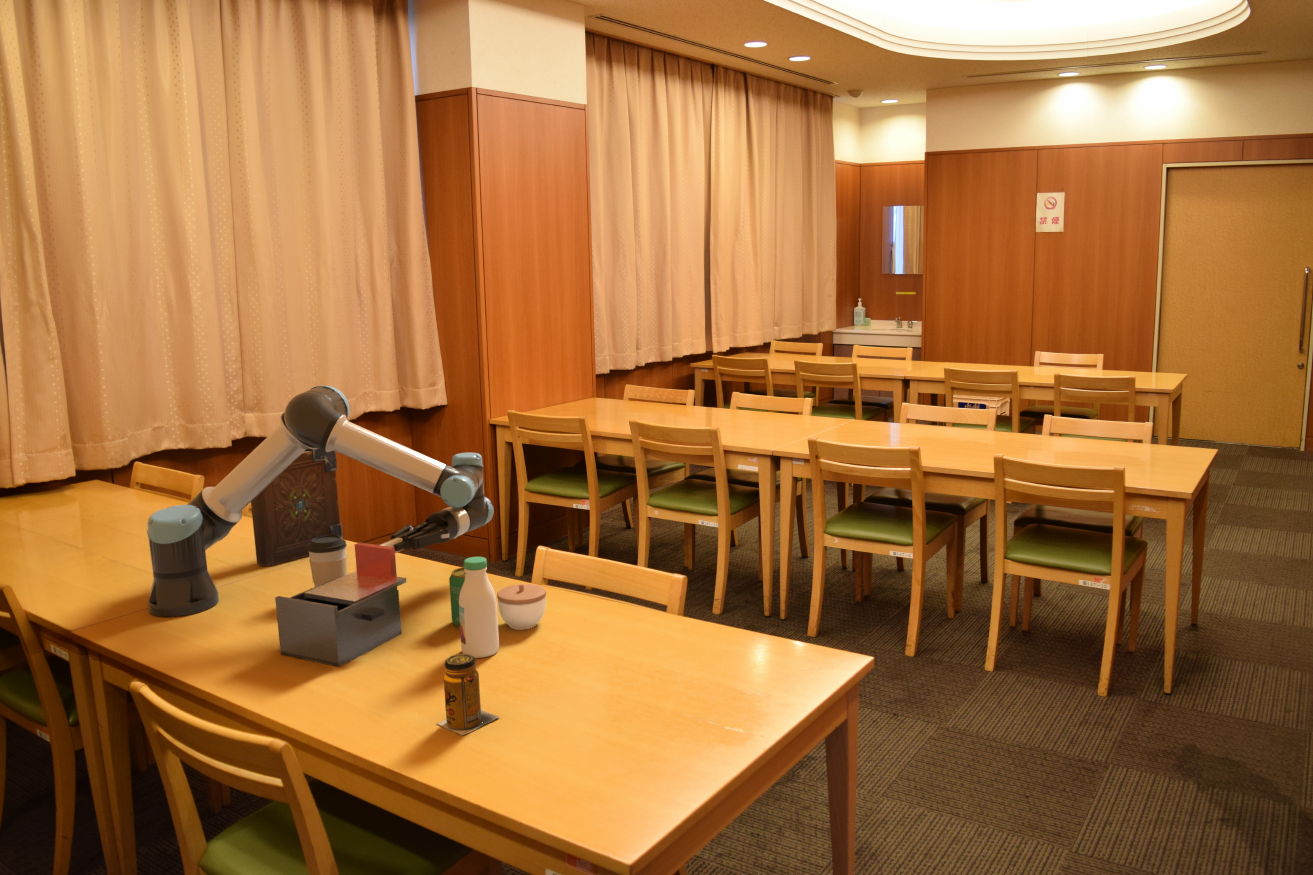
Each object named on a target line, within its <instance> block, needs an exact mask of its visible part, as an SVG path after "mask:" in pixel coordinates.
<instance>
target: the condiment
mask: <svg viewBox="0 0 1313 875" xmlns="http://www.w3.org/2000/svg"><path fill="white" fill-rule="evenodd" d="M476 661H477V660H476V658H474V656H472V655H468V654H463V653H459V654H453V655H451V656H449V657H447V658H445V660H444V668H445V669H444V675H443V688H444V690H443V691H444V702H445V706H444V707H445V708H444V709H445V716H446V719H444V720H441V721H440V722H437V723H436V724H437V725H438V726H440V727H442V728H445V729H446V730H448V731H451V732H453V733H456V734H459V735H461V736H464V735H467V734H469V733H472V732H473V731H475V730H478V729H480V728H482V727H484V726H485V725H486V724H489V723H491V722H493V721H495V720H496V719H498V718H501V716H499V715H496V714H493V713H491V712H488V711H485V710H484V709H482V706H481V692H480V691H481V690H480V676H479V672H478V670H477V665H476ZM490 713H491V714H490ZM482 722H483V723H482Z"/></svg>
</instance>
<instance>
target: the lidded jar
mask: <svg viewBox="0 0 1313 875" xmlns="http://www.w3.org/2000/svg"><path fill="white" fill-rule="evenodd" d="M546 597H547V590H546V588H545V587H544V586H541V585H538V584H534V583H533V584H531V583H520V584H512V585H508V586H505V587H503V588H500V589H499V590H498V591H497V594H496V599H497V605H498V606H497V607H498V611H499V614H500V617H501V618H502V621H504V623H505V624H507V625H508V627H509V628H510V627H511V629H512V630H517V631H522V630H523V631H524V629H526V630H531V629H533V628H535V627H536V626H537V625H538V623H539V622H540V621H541V619H542V618H543V617H544V614H545V611H546V604H547V601H546V600H547V599H546ZM536 624H537V625H536ZM534 626H535V627H534ZM532 627H533V628H532ZM530 628H531V629H530Z"/></svg>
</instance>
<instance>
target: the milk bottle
mask: <svg viewBox="0 0 1313 875" xmlns="http://www.w3.org/2000/svg"><path fill="white" fill-rule="evenodd" d="M487 566H488V561H487V558H486V557H483V556H472V557H467V558H466V559H464V560H463V567H464V568H465V569H464V571H465V572H466V576H465V580H464V583H463V586H462V588H461V591H460V596H459V617H460V628H459V631H460V646H461V647H460V648H461V652H462V653H461V654H468V655H472V656H474V658H475V659H479V658H480V659H481V658H487V657H491V656H494V655H495V654H497V653H498V652H499V649H500V639H499V638H500V637H499V635H500V634H499V621H498V606H497V605H498V602H497V595H496V592H495V589H494V587H493V586H492V582H490V579H489V577H488V574H487V570H488V567H487Z"/></svg>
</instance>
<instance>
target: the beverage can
mask: <svg viewBox="0 0 1313 875" xmlns="http://www.w3.org/2000/svg"><path fill="white" fill-rule="evenodd" d="M464 569H465V568H464V566H462V567H458V568H455V569H453V570H452V571H451V574H450V575H449V579H448V582H449V595H450V612H451V621H452V623H453V625H454V626H455V627H457V628H458V629H460V617H459V596H460V591H461V588H462V586H463V583H464V580H465V576H466V572H465V571H464Z"/></svg>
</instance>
